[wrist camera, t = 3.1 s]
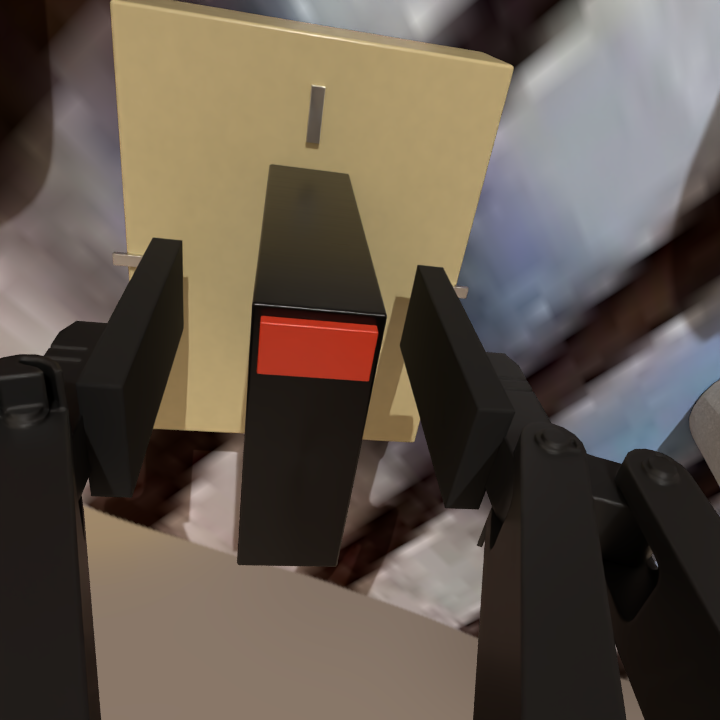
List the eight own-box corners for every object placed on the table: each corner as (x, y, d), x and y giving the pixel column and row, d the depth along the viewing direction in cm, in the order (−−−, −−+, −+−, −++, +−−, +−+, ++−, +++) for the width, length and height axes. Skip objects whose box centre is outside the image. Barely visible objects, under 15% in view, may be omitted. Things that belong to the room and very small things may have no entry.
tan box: (410, 396, 25) (424, 446, 22) (146, 378, 23) (127, 431, 20) (495, 53, 18) (530, 69, 15) (123, -9, 16) (90, -4, 13)
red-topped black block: (322, 366, 20) (337, 576, 13) (256, 361, 19) (236, 575, 12) (349, 173, 16) (390, 321, 9) (269, 163, 16) (251, 310, 9)
